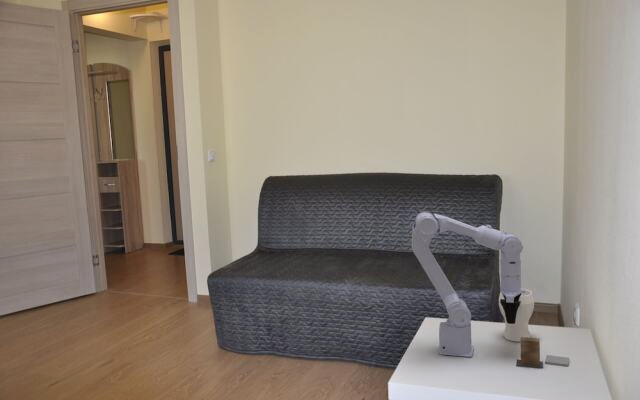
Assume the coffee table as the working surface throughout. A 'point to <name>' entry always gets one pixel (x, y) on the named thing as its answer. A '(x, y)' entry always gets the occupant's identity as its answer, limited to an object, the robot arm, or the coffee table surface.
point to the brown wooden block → (530, 351)
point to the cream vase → (519, 317)
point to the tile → (557, 360)
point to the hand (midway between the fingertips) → (511, 319)
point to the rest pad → (518, 363)
